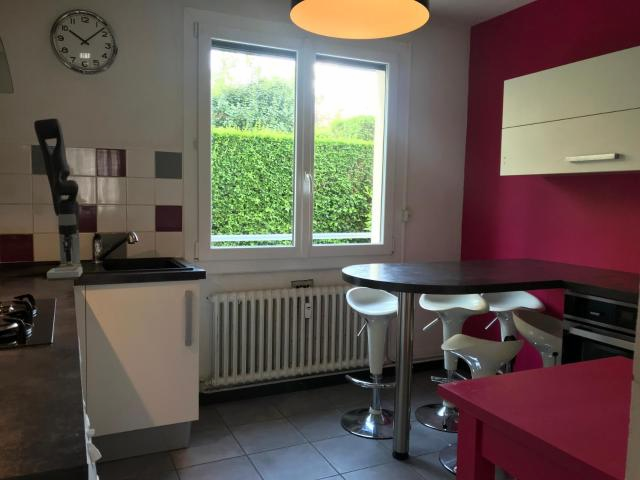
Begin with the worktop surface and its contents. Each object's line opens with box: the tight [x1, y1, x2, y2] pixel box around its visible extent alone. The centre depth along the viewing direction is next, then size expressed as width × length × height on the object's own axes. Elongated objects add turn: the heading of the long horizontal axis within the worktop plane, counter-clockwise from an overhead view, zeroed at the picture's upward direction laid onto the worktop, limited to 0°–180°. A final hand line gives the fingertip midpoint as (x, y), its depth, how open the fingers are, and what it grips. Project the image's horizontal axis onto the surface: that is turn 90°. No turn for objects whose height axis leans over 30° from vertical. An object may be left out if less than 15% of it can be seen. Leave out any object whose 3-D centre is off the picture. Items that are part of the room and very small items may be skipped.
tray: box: [46, 266, 83, 282], centre depth 232 cm, size 12×12×4 cm
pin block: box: [56, 263, 82, 268], centre depth 244 cm, size 9×9×4 cm
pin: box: [66, 248, 72, 266], centre depth 243 cm, size 3×3×10 cm
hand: (69, 260), depth 243 cm, fingers closed on pin, 2 cm apart
